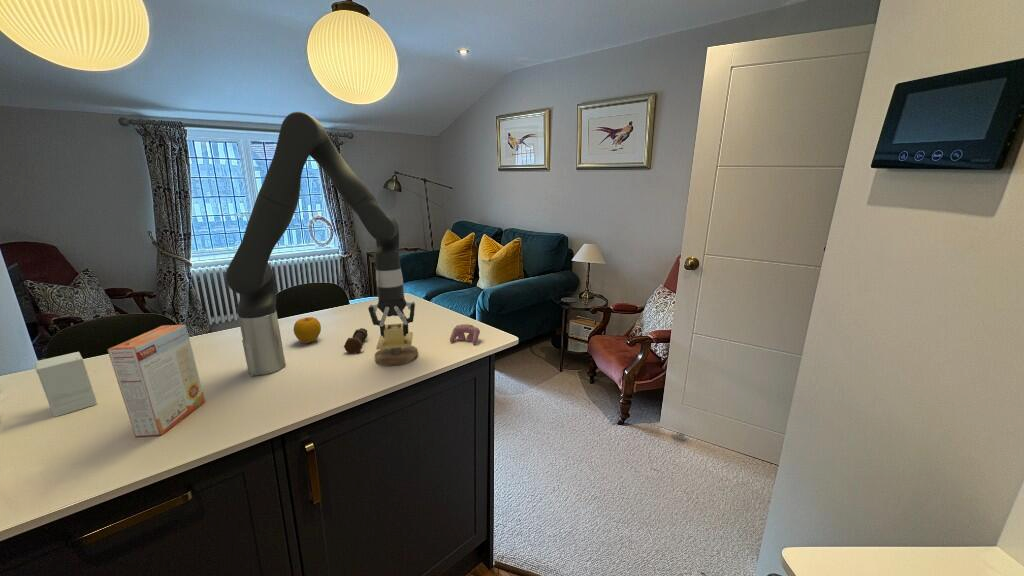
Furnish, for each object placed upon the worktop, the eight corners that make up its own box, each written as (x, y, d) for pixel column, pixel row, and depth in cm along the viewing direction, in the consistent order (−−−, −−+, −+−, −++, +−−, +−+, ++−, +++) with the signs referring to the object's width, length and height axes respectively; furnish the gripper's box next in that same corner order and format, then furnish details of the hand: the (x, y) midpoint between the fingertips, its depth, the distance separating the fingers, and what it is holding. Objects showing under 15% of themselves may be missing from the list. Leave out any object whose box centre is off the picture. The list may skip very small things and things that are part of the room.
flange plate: (411, 346, 116) (410, 331, 115) (376, 349, 114) (375, 333, 113) (412, 334, 126) (411, 320, 125) (380, 337, 124) (379, 322, 123)
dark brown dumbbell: (366, 341, 139) (356, 357, 125) (352, 335, 138) (341, 351, 124) (373, 327, 139) (364, 342, 124) (359, 321, 137) (349, 335, 123)
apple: (312, 347, 130) (308, 322, 127) (289, 346, 131) (285, 321, 129) (327, 338, 138) (324, 314, 135) (306, 336, 139) (302, 313, 137)
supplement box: (94, 395, 100) (80, 350, 97) (97, 404, 96) (83, 358, 93) (51, 407, 95) (35, 360, 92) (52, 418, 90) (35, 369, 87)
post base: (417, 363, 116) (414, 334, 114) (372, 368, 114) (369, 338, 111) (418, 347, 129) (416, 320, 126) (378, 350, 126) (375, 323, 124)
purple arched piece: (479, 346, 133) (482, 326, 134) (475, 345, 129) (477, 324, 130) (453, 343, 136) (455, 323, 137) (448, 342, 131) (451, 322, 133)
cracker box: (181, 403, 96) (161, 324, 91) (206, 402, 96) (188, 323, 91) (131, 438, 82) (105, 347, 77) (161, 436, 83) (136, 346, 78)
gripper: (362, 288, 110) (369, 342, 115) (414, 284, 113) (418, 338, 117) (366, 282, 118) (372, 333, 122) (414, 279, 120) (419, 329, 125)
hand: (395, 335), depth 120 cm, fingers closed on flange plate, 5 cm apart
